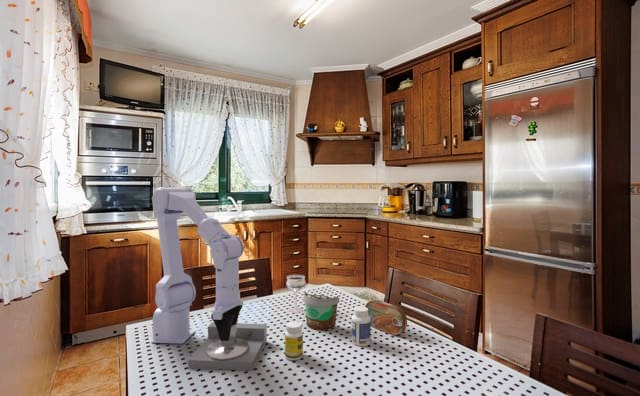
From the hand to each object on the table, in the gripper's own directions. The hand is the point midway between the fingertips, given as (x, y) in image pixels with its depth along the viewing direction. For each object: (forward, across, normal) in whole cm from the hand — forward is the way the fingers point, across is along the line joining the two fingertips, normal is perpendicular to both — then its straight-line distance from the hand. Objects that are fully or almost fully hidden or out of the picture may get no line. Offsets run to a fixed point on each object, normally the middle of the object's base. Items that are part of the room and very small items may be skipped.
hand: (227, 336), depth 85 cm
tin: (+6, +20, -43) cm, 48 cm away
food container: (+6, +20, -22) cm, 30 cm away
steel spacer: (+2, 0, 0) cm, 2 cm away
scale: (+6, +2, 0) cm, 6 cm away
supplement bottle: (+6, +2, -17) cm, 18 cm away
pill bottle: (+6, +11, -35) cm, 37 cm away
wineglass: (+6, +34, -13) cm, 37 cm away
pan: (+4, 0, 0) cm, 4 cm away
